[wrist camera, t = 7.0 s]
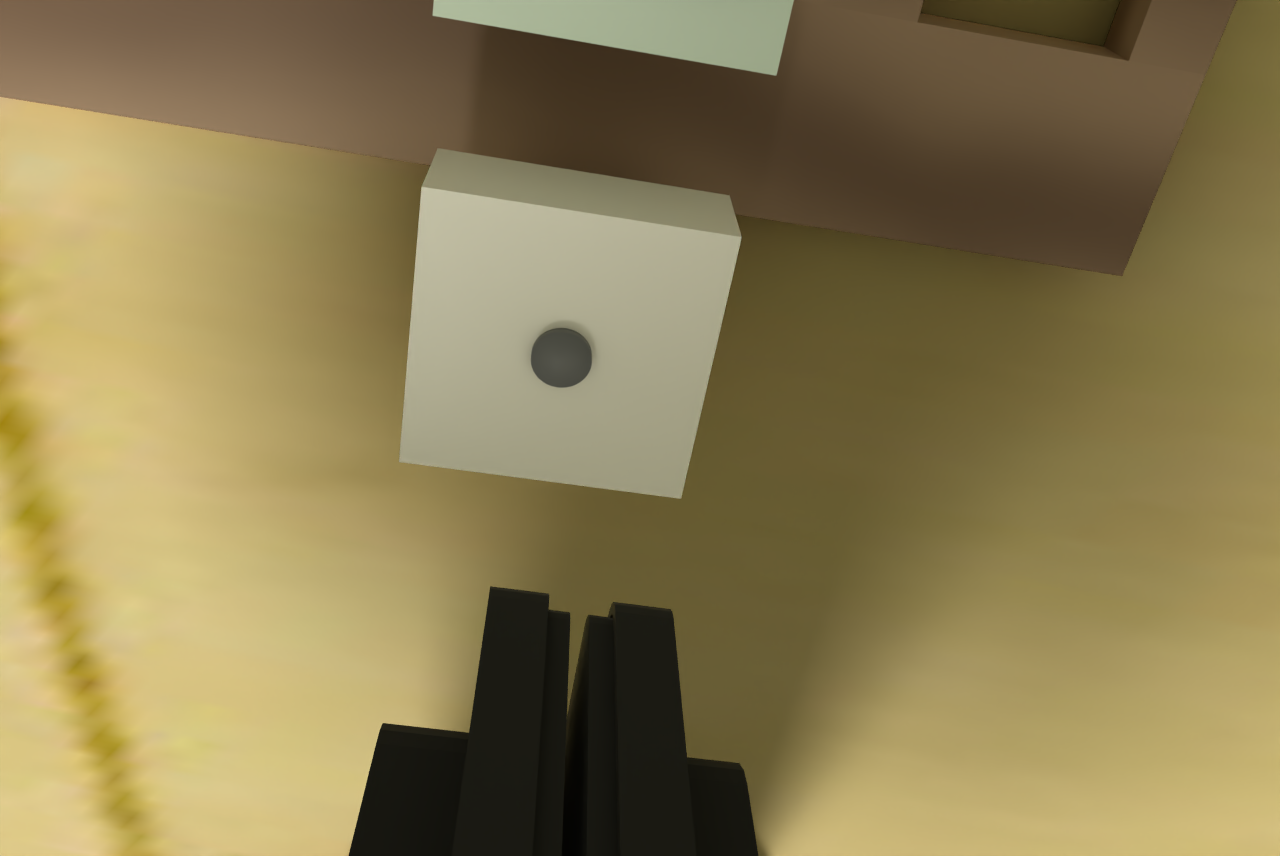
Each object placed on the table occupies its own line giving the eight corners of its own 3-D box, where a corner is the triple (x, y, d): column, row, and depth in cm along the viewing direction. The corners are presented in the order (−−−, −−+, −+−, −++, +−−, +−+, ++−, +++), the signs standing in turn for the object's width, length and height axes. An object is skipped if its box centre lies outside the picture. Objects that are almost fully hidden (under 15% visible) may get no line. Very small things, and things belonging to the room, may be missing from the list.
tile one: (669, 391, 24) (681, 505, 20) (429, 357, 23) (396, 468, 20) (719, 160, 21) (743, 241, 18) (451, 116, 21) (419, 190, 17)
